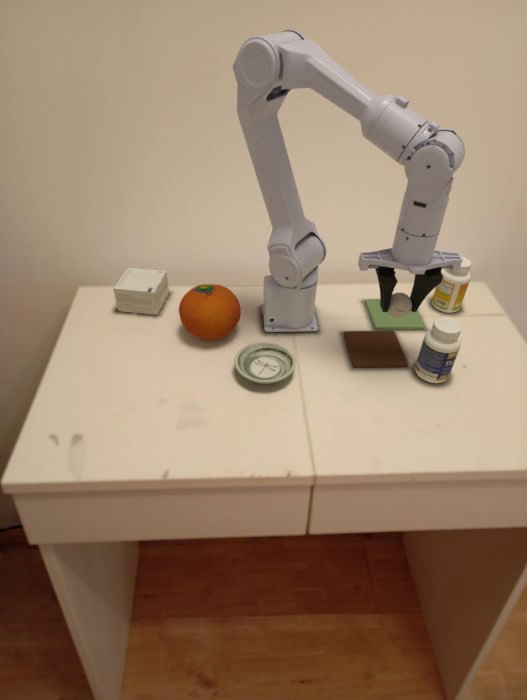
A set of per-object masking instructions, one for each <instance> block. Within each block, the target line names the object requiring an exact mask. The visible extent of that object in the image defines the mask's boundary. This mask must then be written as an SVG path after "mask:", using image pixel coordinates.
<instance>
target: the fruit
mask: <svg viewBox="0 0 527 700" xmlns="http://www.w3.org/2000/svg"><path fill="white" fill-rule="evenodd" d="M241 311H242V310H241V304H240V301H239V298H238V297H237V296H236V295H235V293H234V292H233V291H232V290H230V289H229V288H228V287H227V286H224V285H220V284H216V283H214V284H209V283H203V284H198V285H196V286H194V287H191V288H190V290H189V291H187V292H186V293H185V294H184V295H183V296H182V298H181V300H180V302H179V306H178V313H179V318H180V322H181V324H182V326H183V328H184V329H185V330H186V331H187V332H188V333H189V334H190V335H192V336H194V337H196V338H197V339H200V340H203V341H216V340H219V339H221V338H224V337H226V336H228V335H229V334H231V333H232V332H233V331H234V330H235V328H236V327H237V325H238V324H239V322H240V318H241V313H242V312H241Z"/></svg>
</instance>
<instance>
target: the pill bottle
mask: <svg viewBox="0 0 527 700" xmlns="http://www.w3.org/2000/svg"><path fill="white" fill-rule="evenodd" d="M461 331H462V325H461V323H460V322H458V321H457V320H456V319H454V318H451V317H446V316H442V317H437V318H436V319H434V321H433V323H432V326H431V328H430V329H428V330H427V331H426V332H425V334H424V336H423V339H422V343H421V347H420V350H419V353H418V355H417V359H416V363H415V367H414V371H415V373H416V375H417V376H418V377H419V378H420V379H422V380H423V381H425V382H428V383H431V384H440V383H444V382H446V381H448V379H449V377H450V376H451V372H452V370H453V367H454V364H455V362H456V360H457V357H458V354H459V351H460V349H461V347H462V346H461V345H462V339H461V338H460V335H461Z"/></svg>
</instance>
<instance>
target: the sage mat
mask: <svg viewBox="0 0 527 700" xmlns="http://www.w3.org/2000/svg"><path fill="white" fill-rule="evenodd" d="M364 303H365V305H366V309H367V310H368V313H369V316H370V318H371V321H372V324H373V326H374V329H375V331H396V330H398V331H399V330H425V329H426V326H425V323H424V321H423V320H422V317H421V316H420V314H419V312H418V310H417V311H416V312H412V311H411V312H410V313H409V314H408V315H407V316H405V317H403V318H394V317H392V316H390V315H389V313H388V312H383V311H382V309H381V306H380V298H365V300H364Z"/></svg>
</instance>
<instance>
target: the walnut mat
mask: <svg viewBox="0 0 527 700" xmlns="http://www.w3.org/2000/svg"><path fill="white" fill-rule="evenodd" d="M343 336H344V341H345V343H346V347H347V351H348V354H349V357H350V360H351V364H352V367H353V368H354V369H356V368H359V369H361V368H363V369H364V368H365V369H366V368H408V366H409V362H408V361H407V357H406V355H405V353H404V351H403V348H402V347H401V344H400V342H399V339H398V336H397V335H396V331H395V330H344V331H343Z"/></svg>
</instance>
